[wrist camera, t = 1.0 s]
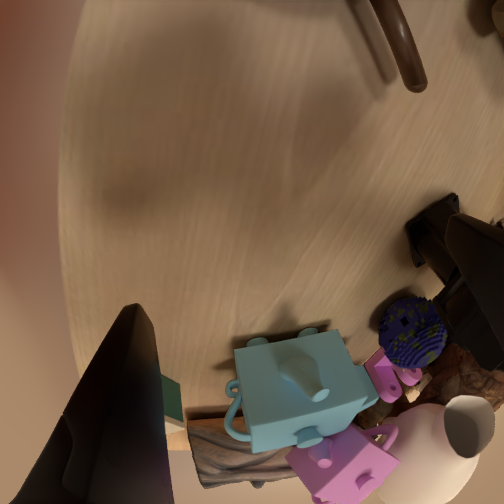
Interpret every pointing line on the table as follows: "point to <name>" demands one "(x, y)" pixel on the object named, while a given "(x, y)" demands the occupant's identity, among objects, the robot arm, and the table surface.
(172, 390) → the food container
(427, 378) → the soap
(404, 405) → the mug
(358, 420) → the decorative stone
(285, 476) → the sculpture
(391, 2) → the pan handle
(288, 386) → the teapot
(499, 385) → the sculpture
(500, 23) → the sandal
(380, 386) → the bracket
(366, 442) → the teapot
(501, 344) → the robot arm
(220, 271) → the table surface
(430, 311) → the ball
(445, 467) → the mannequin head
